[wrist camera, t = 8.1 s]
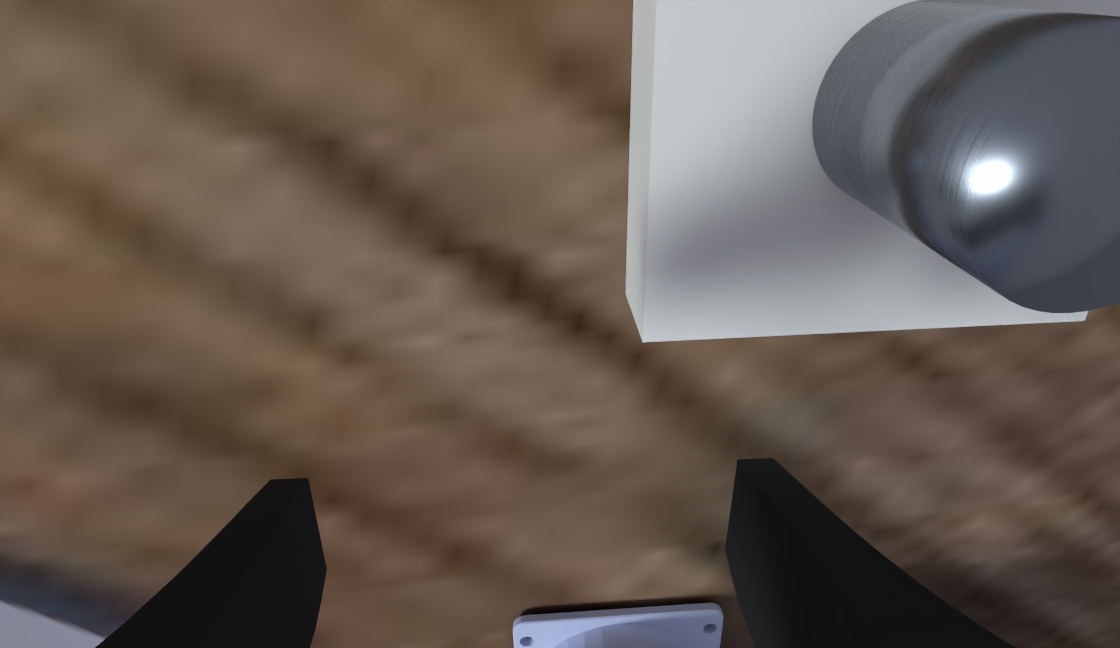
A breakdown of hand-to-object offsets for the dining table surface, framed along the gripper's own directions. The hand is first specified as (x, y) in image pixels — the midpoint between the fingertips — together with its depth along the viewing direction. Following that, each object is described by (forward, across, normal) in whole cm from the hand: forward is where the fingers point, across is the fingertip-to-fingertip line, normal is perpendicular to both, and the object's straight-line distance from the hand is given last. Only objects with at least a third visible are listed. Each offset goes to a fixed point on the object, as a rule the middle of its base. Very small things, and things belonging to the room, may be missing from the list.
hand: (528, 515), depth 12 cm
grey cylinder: (+7, -9, -5) cm, 13 cm away
